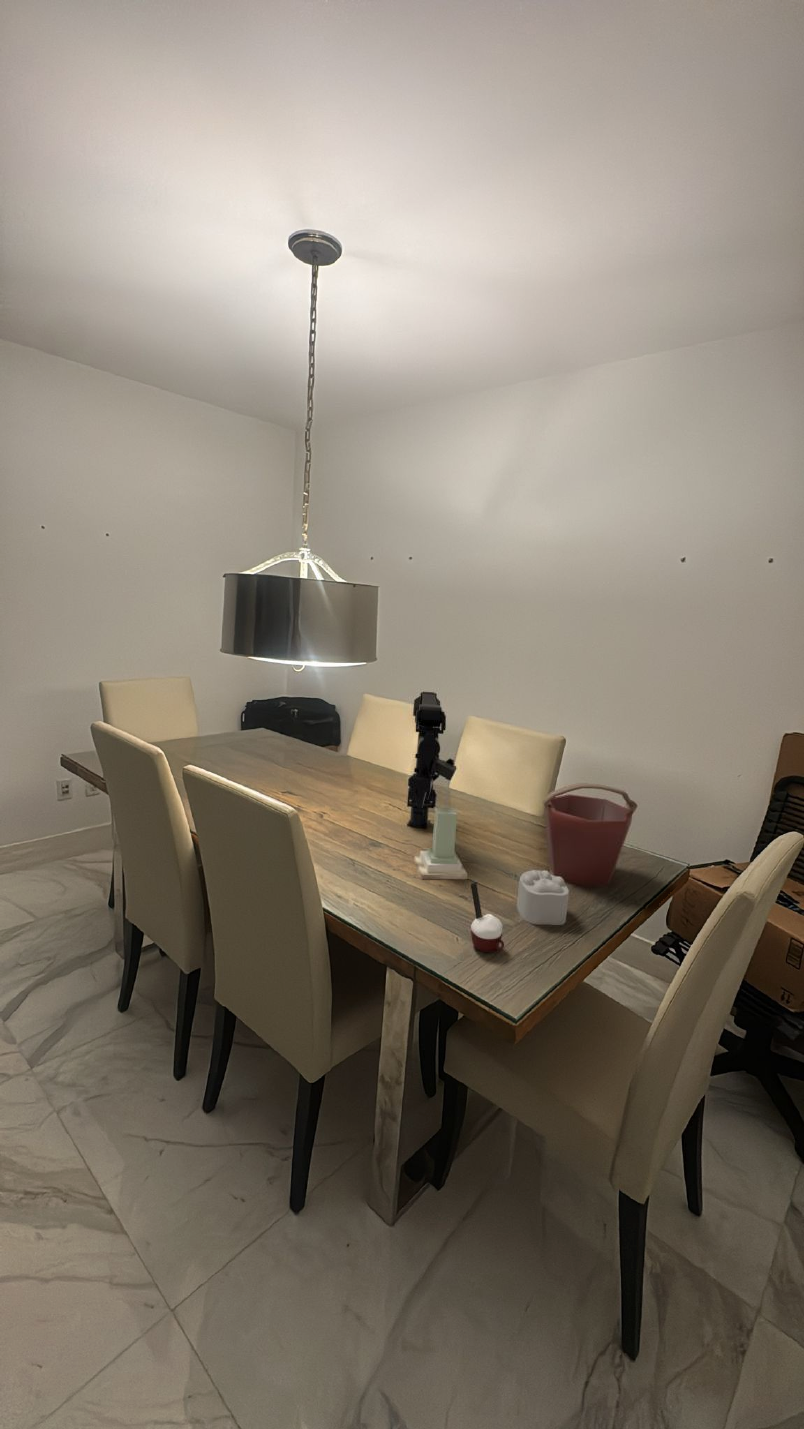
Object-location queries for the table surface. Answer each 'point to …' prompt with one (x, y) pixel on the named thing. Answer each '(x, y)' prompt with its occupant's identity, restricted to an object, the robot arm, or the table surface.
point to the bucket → (585, 834)
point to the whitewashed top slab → (438, 864)
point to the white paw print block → (542, 898)
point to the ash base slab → (438, 875)
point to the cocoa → (485, 927)
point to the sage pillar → (444, 836)
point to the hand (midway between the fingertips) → (423, 803)
